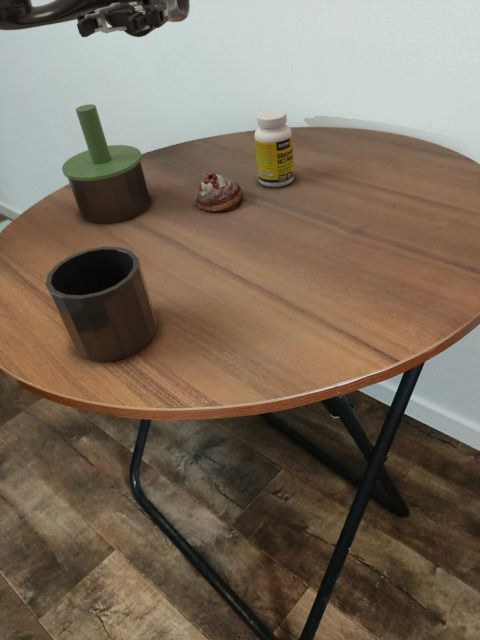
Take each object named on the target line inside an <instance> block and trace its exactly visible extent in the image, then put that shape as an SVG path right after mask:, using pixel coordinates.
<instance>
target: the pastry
mask: <svg viewBox="0 0 480 640" xmlns="http://www.w3.org/2000/svg"><path fill="white" fill-rule="evenodd" d="M198 191H199V192H198V193H197V197H196V204H197V206H198V208H199V209H200V210H203V211H205V212H208V213H209V212H211V213H214V212H225V211H231V210H233V209H235V208H236V207H237V206H238V205H239V204H240V203H241V201H242V199H243V197H244V191H243V188H241V185H240V184H239V182H237V181H235V180H234V179H228V178H224V176H222V175H220V174H217V173H214V172H212V171H206V176H205V177H204V179H203V180H202V181H201V183H200V184H199V187H198Z"/></svg>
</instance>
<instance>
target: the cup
mask: <svg viewBox="0 0 480 640" xmlns="http://www.w3.org/2000/svg"><path fill="white" fill-rule="evenodd" d="M45 287H46V290H47V292H48V294H49V296H50V298H51V301H52V303H53V305H54V307H55V309H56V311H57V314H58V316H59V318H60V321H61V323H62V325H63V327H64V329H65V332H66V333H67V336H68V338H69V340H70V342H71V344H72V347H73V348H74V350H75V352H76V354H78V355H79V356H80V357H81V358H83V359H84V360H87V361H89V362H96V363H110V362H116V361H120V360H123V359H126V358H129V357H131V356H134V355H135V354H137V353H139V352H140V351H142V350H144V349H145V348H146V347H147V346H148V345H149V344H150V343H151V342H152V341H153V339H154V338H155V336H156V333H157V330H158V322H157V316H156V313H155V309H154V307H153V302H152V300H151V295H150V293H149V290H148V289H149V288H148V286H147V283H146V279H145V276H144V273H143V269H142V265H141V262H140V259H139V257H138V255H136V254H135V253H134V252H133V251H132V250H130V249H127V248H123V247H121V246H98V247H93V248H88V249H84V250H82V251H79V252H76V253H73V254H71V255H69V256H67V257H66V258H64V259H63V260H61V261H60V262H58V263H57V264H55V265H54V266H53V268H52V269H51V270H50V271H49V272H48V273H47V274H46V279H45Z"/></svg>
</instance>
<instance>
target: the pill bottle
mask: <svg viewBox="0 0 480 640" xmlns="http://www.w3.org/2000/svg"><path fill="white" fill-rule="evenodd" d="M287 120H288V119H287V111H285V110H282V109H268V110H264V111H260V112H259V113H258V114H257V115H256V122H257V126H258V127H257V128H256V130H255V132H254V135H253V136H254V137H253V138H254V148H255V156H256V157H255V158H256V167H257V177H258V181H259V184H261V185H262V186H264V187H268V188H281V187H285V186H287V185H290V184H291V183H292V182H293V181H294V179H295V165H294V147H293V146H294V145H293V132H292V128H291V127H289V126H288V125H287Z"/></svg>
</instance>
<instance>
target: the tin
mask: <svg viewBox="0 0 480 640" xmlns="http://www.w3.org/2000/svg"><path fill="white" fill-rule="evenodd" d="M67 181H68V183H69V185H70V189H71V192H72V195H73V197H74V199H75V200H74V201H75V203H76V205H77V208H78V210H79V211H78V212H79V213H80V215H81V217H82V219H84V220H85V221H87V222H89V223H90V224H91V223H92V224H98V225H107V224H108V225H109V224H115V223H121V222H124V221H128V220H130V219H132V218H135V217H137V216H139V215H140V214H142V213H143V212H145V211H146V210H147V209H148V208H149V206H150V204H151V199H150V194H149V190H148V189H149V188H148V185H147V182H146V178H145V173H144V170H143V166H142V162H141V161H140V163H139V164H138V165H137V166H135V167H134V168H133V169H131V170H129V171H127V172H125V173H123V174H120V175H117V176H114V177H110V178H106V179H101V180H93V181H78V180H72V179H69V178H67Z"/></svg>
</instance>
